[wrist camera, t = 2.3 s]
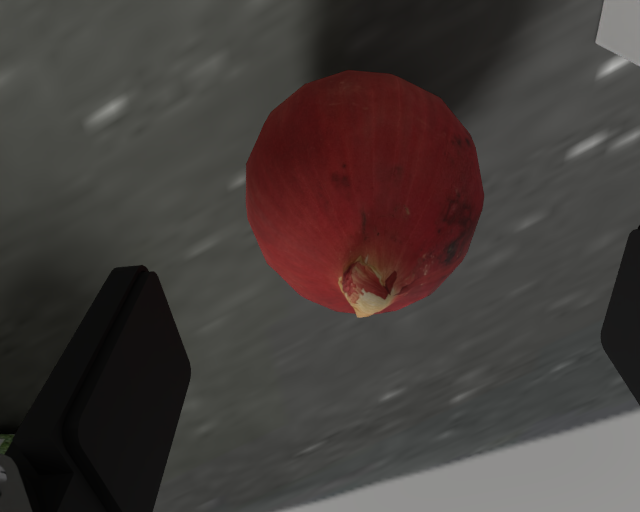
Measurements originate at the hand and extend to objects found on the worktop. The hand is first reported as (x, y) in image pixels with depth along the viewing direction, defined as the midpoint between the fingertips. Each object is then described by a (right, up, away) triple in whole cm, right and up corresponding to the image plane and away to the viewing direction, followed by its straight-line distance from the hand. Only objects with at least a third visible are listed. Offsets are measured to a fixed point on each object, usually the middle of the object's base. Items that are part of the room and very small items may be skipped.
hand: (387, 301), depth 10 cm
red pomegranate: (0, +5, +6) cm, 7 cm away
